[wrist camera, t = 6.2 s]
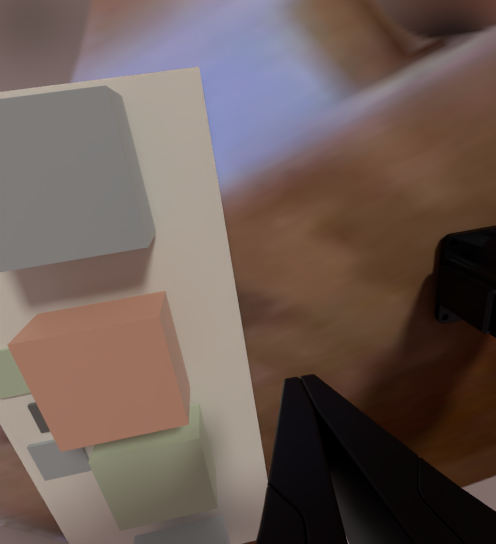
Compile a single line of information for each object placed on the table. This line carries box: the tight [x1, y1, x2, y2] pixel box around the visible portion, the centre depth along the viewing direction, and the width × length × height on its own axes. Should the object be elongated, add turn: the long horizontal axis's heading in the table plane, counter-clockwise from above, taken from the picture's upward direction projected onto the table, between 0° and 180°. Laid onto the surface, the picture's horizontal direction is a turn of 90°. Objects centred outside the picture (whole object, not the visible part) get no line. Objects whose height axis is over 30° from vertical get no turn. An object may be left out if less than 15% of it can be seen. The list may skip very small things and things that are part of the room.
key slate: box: [0, 85, 156, 272], centre depth 12 cm, size 6×6×2 cm
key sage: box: [88, 404, 218, 531], centre depth 19 cm, size 6×6×2 cm
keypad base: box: [0, 67, 268, 544], centre depth 20 cm, size 14×31×3 cm, turn 8°
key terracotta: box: [7, 291, 190, 452], centre depth 14 cm, size 6×6×2 cm
